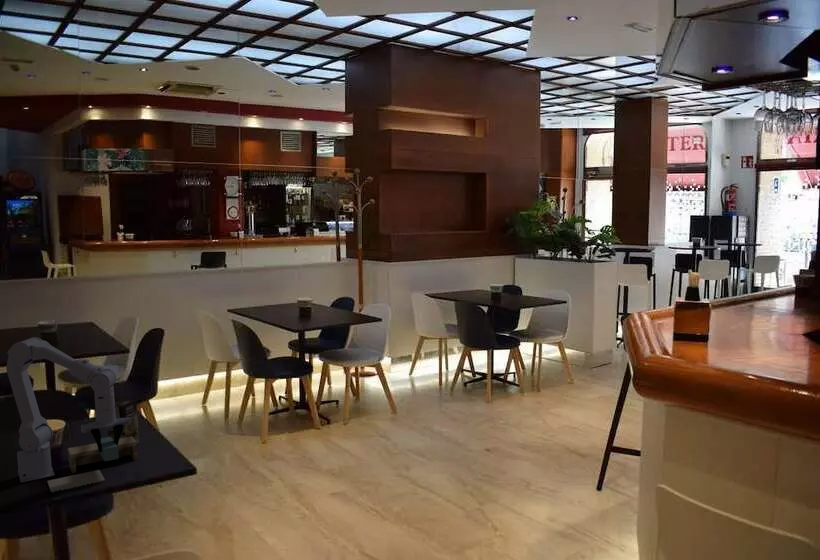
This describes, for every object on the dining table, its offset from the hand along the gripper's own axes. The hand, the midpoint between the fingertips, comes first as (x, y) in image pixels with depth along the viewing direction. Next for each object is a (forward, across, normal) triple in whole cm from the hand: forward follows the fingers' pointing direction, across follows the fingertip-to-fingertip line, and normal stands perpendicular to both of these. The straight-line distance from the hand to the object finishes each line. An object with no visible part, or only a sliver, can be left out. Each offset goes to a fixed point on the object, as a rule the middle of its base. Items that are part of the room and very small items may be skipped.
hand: (108, 449), depth 220 cm
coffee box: (+8, +9, +24) cm, 27 cm away
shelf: (+8, 0, +11) cm, 13 cm away
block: (+2, 0, 0) cm, 2 cm away
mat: (+8, -10, -1) cm, 13 cm away
